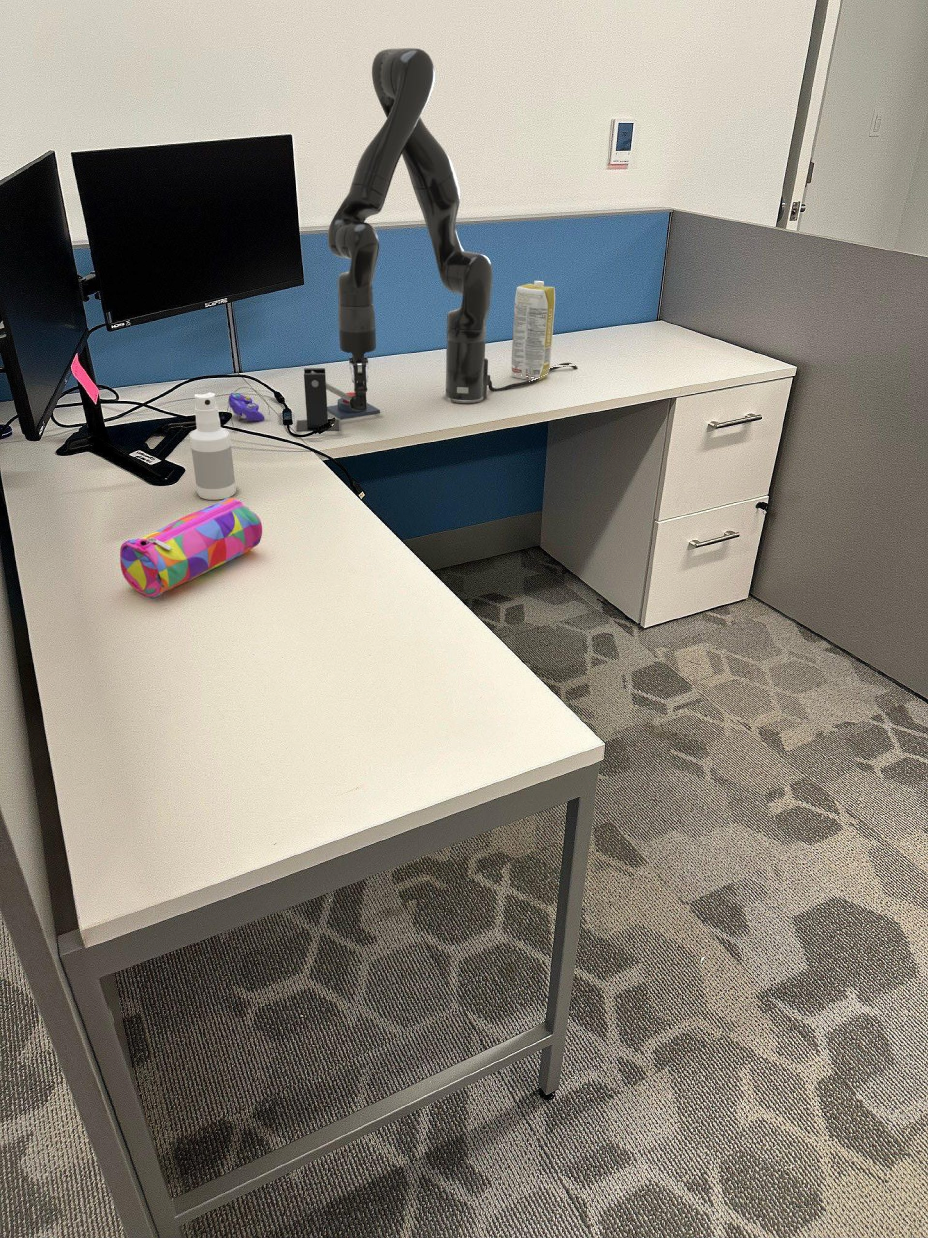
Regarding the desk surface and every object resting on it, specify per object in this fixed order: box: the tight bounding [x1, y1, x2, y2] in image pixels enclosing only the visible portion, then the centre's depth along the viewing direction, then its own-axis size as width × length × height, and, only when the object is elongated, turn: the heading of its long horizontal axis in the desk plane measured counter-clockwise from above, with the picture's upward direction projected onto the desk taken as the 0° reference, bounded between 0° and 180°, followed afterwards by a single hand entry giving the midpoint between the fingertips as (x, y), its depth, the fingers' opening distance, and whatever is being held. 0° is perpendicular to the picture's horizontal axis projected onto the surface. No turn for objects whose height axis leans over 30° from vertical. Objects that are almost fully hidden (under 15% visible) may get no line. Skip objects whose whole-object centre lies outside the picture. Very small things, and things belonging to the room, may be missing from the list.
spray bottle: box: [189, 392, 237, 501], centre depth 153 cm, size 7×7×18 cm
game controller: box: [221, 386, 271, 428], centre depth 191 cm, size 10×8×10 cm
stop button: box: [344, 391, 355, 403], centre depth 196 cm, size 4×4×2 cm
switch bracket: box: [295, 367, 340, 433], centre depth 185 cm, size 9×7×13 cm
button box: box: [327, 397, 381, 421], centre depth 197 cm, size 10×8×4 cm
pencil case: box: [119, 497, 263, 598], centre depth 129 cm, size 22×9×9 cm, turn 148°
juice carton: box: [510, 280, 556, 382], centre depth 224 cm, size 9×8×24 cm
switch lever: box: [311, 371, 360, 411], centre depth 185 cm, size 13×3×3 cm
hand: (360, 403), depth 187 cm, fingers open, 8 cm apart
